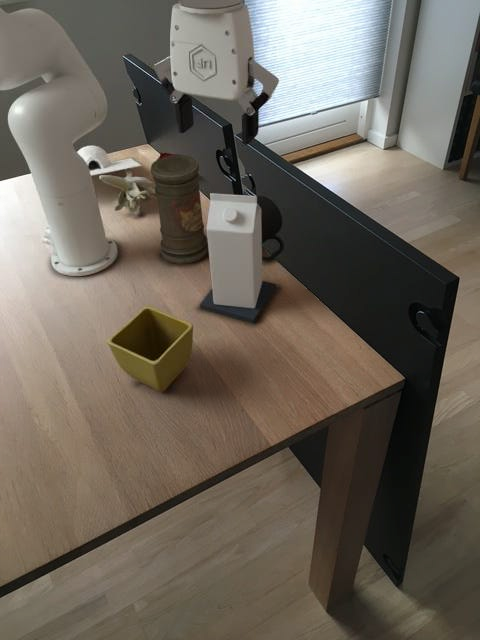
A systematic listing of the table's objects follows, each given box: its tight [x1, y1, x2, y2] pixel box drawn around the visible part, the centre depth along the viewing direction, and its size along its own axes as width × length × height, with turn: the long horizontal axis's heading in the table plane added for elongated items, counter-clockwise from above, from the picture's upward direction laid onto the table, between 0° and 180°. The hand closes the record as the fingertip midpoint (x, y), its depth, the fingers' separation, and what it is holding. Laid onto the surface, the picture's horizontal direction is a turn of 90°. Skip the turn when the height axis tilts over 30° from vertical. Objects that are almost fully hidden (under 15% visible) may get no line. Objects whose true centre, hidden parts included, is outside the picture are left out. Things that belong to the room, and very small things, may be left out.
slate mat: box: [199, 280, 278, 324], centre depth 93 cm, size 10×10×1 cm
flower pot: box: [106, 305, 194, 393], centre depth 78 cm, size 9×9×9 cm
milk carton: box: [206, 192, 263, 308], centre depth 86 cm, size 7×7×19 cm
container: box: [150, 154, 209, 265], centre depth 99 cm, size 9×9×18 cm
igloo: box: [76, 145, 142, 177], centre depth 124 cm, size 20×20×5 cm
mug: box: [256, 195, 285, 262], centre depth 102 cm, size 8×12×10 cm
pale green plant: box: [98, 168, 156, 217], centre depth 117 cm, size 9×16×15 cm
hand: (217, 134), depth 74 cm, fingers open, 9 cm apart
